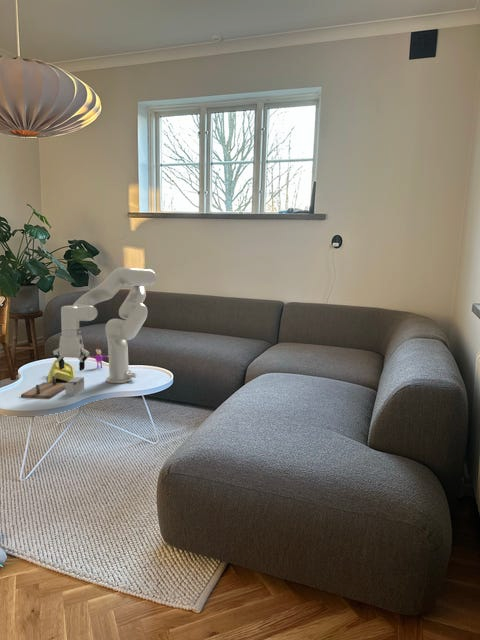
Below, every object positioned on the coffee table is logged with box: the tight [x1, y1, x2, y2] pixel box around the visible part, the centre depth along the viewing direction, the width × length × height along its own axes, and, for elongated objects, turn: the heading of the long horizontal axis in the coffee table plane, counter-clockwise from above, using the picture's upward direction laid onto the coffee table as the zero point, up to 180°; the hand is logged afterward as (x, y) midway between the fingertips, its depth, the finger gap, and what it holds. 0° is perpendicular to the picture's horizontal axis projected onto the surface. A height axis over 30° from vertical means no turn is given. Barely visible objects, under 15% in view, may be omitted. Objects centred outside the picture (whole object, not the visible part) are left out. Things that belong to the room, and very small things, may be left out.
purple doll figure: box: [88, 347, 109, 369], centre depth 238 cm, size 11×3×12 cm, turn 95°
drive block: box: [64, 376, 85, 397], centre depth 198 cm, size 4×10×6 cm, turn 173°
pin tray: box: [20, 376, 66, 399], centre depth 199 cm, size 14×18×5 cm
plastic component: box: [47, 359, 76, 383], centre depth 221 cm, size 20×8×10 cm
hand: (71, 369), depth 196 cm, fingers open, 9 cm apart
